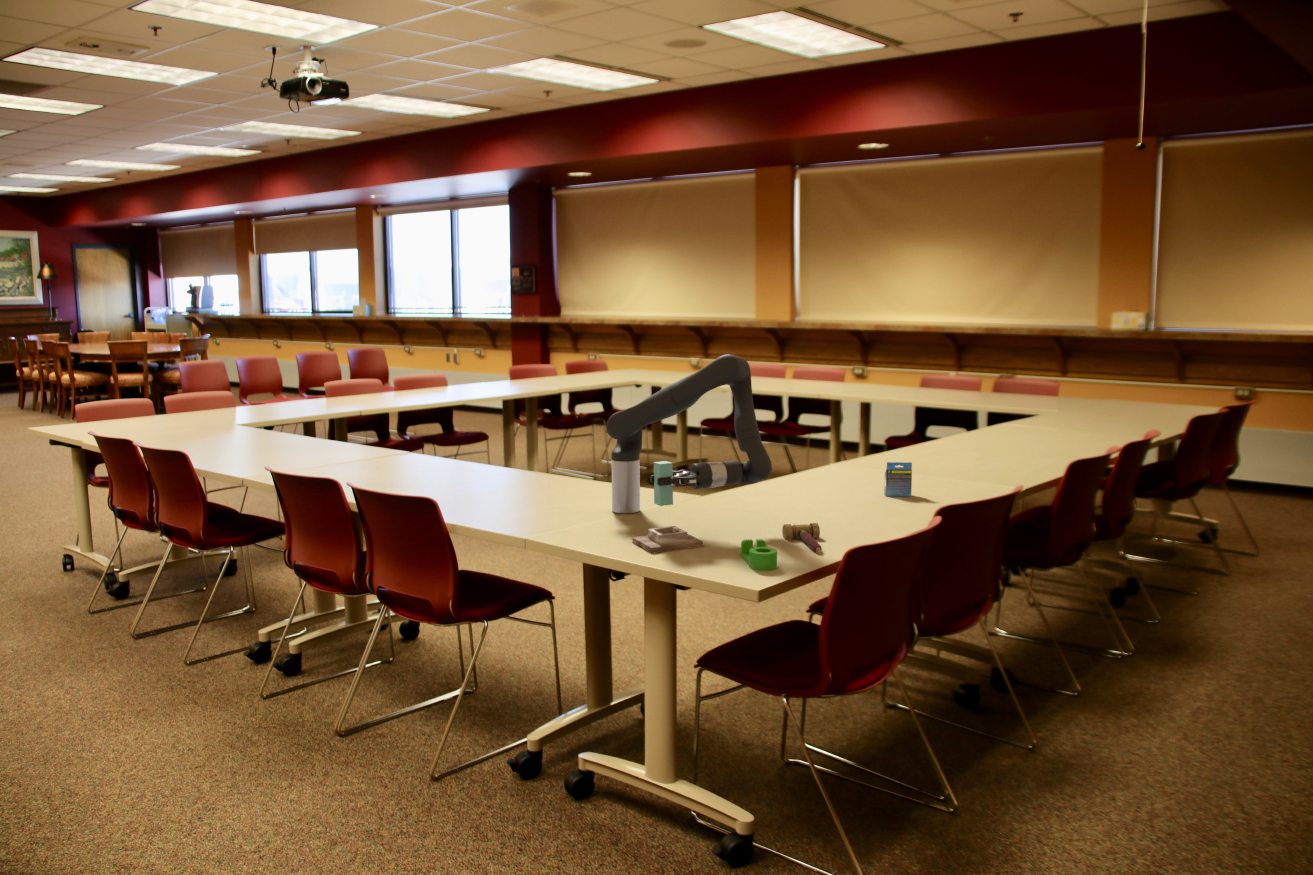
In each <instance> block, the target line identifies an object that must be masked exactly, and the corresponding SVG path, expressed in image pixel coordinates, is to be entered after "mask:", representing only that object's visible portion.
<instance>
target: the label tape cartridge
mask: <svg viewBox="0 0 1313 875" xmlns="http://www.w3.org/2000/svg"><path fill="white" fill-rule="evenodd" d="M912 465H913V462H901V461H900V462H899V461H898V462H895V461H893V462H889V461H888V462H886V469H885V471H884V482H883V484H884V488H883V490H884V492H883V495H884V496H885V497H886V498H887V497H905V498H907V497H908V498H911V497H912V485H913V484H912V481H913V480H912V479H913V478H912V476H913V469H912V468H913V467H912ZM897 466H898V467H897Z"/></svg>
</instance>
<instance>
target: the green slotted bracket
mask: <svg viewBox="0 0 1313 875" xmlns="http://www.w3.org/2000/svg"><path fill="white" fill-rule="evenodd" d="M755 540H756V543H755V544H756V545H755V546H754V541H753V539H752V538H751V539H743V540H742V541H741V542H740V557H742V559H743V560H744V561H745V562H746V564H747V565H748V568H749V569H750V570H751V569H752V570H754V571H758V572H759V571H762V572H768V571H773V570H774V571H775V570H777V568H778V550H777V549H776V548H774V547H768V546H767V542H766V541H765V540H764V539H763V538H759V539H755Z"/></svg>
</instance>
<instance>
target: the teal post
mask: <svg viewBox="0 0 1313 875" xmlns="http://www.w3.org/2000/svg"><path fill="white" fill-rule="evenodd" d="M673 470H674V469H673V462H671V461H667V460H661V461H653V475H654V483H653V492H654V493H653V502H654V504H655V505H657V506H659V507H664V506H673V505H674V489H673V487H674V485H673V486H672V485H663V486H658V485H657V478H662V477H671V476H673Z"/></svg>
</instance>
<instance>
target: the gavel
mask: <svg viewBox="0 0 1313 875" xmlns="http://www.w3.org/2000/svg"><path fill="white" fill-rule="evenodd" d="M781 531H782V533H781V534H782V538H783V539H784V540H787V541H788V540H793V539H796V540H797V539H801V540H802V541H803V543H805V544H806V545H807V547H809V549H811V551H812V552H813V553H816V554H819V555H821V554H822V553H823V552H822V551H823V549H822V546H821V545H820V543H819V542H818V541H817V540H816V539H819V537H820V535H821V530H820V526H819V523H817V522H810V523H809V524H806V523H805V524H793V525H792V524H791V523H784V524H782V529H781Z"/></svg>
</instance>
